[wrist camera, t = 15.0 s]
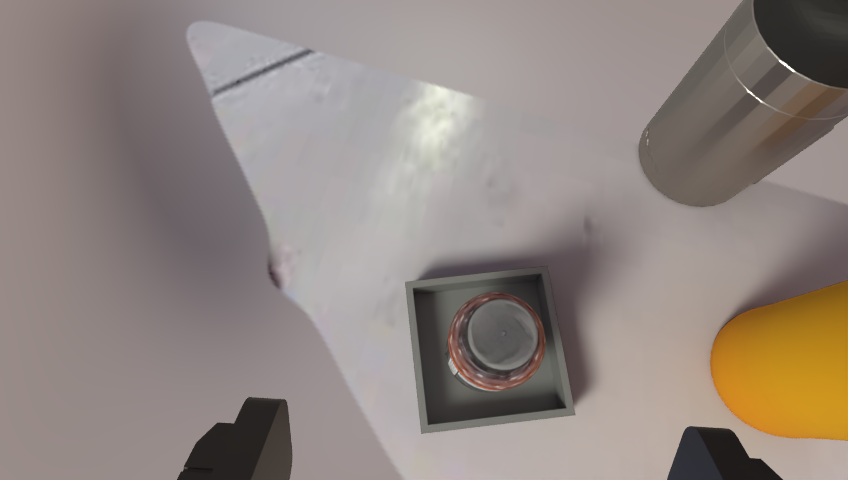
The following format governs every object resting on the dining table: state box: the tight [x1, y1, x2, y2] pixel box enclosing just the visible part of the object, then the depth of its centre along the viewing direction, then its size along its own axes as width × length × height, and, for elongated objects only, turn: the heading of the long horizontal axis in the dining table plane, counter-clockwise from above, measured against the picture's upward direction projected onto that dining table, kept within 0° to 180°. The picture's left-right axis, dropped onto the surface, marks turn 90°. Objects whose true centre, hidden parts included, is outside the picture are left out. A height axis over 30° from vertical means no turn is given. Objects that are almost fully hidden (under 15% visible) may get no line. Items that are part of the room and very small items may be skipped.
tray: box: [405, 266, 575, 434], centre depth 41 cm, size 11×11×3 cm
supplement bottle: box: [445, 292, 546, 393], centre depth 36 cm, size 6×6×11 cm
